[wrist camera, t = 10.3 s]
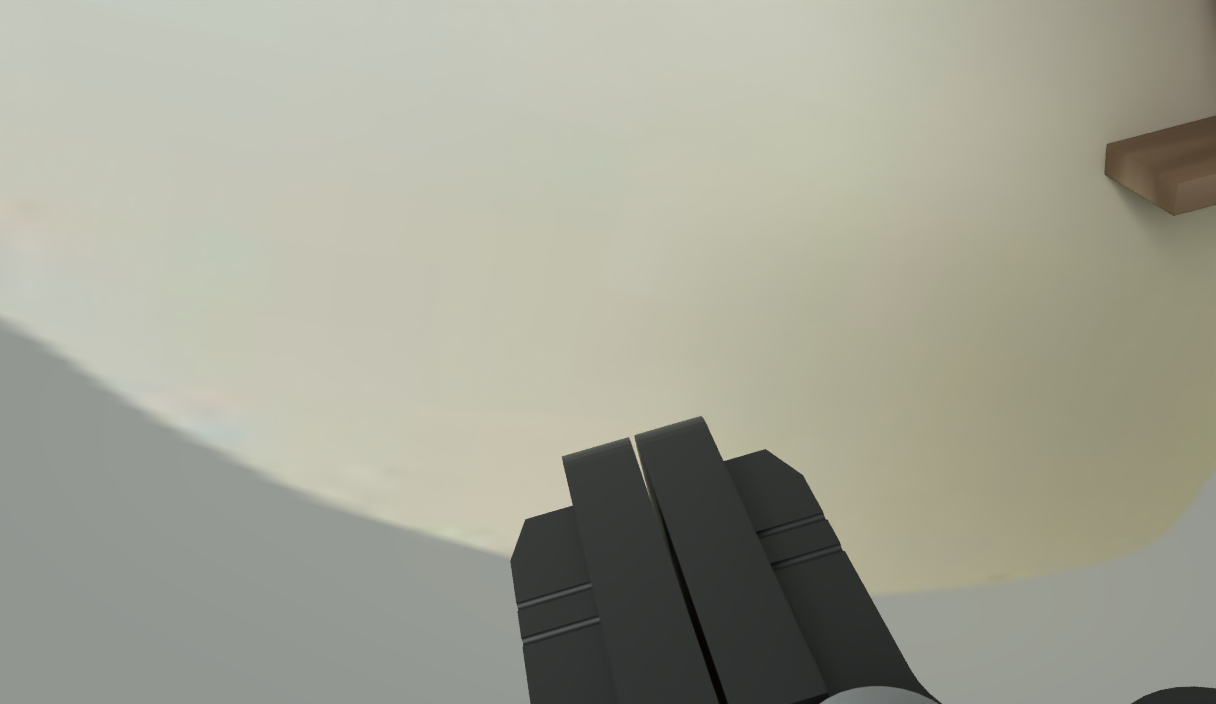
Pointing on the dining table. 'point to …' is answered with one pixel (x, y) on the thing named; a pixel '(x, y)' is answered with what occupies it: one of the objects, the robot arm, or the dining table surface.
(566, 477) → the robot arm
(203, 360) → the dining table surface
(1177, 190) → the brown wooden u-shaped frame
